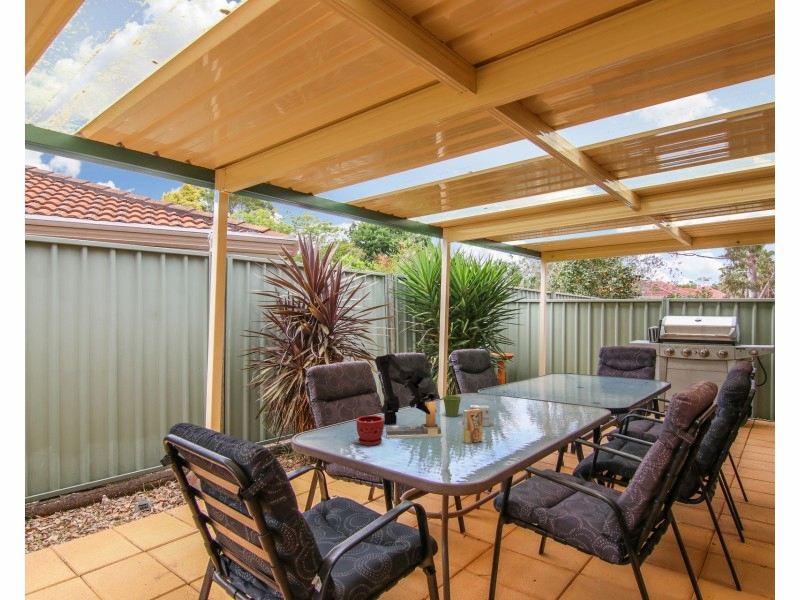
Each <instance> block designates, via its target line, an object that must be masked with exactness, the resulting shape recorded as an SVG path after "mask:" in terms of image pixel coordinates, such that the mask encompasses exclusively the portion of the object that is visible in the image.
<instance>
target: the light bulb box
mask: <svg viewBox="0 0 800 600" xmlns="http://www.w3.org/2000/svg"><path fill="white" fill-rule="evenodd" d="M471 409H480V410H482V427H490V425H491V424H490V423H491V422H490V406H489V405H485V404H484V405H483V404H482V405H481V404H478V405H477V404H476V405H475V404H470V405H469V410H471Z"/></svg>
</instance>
